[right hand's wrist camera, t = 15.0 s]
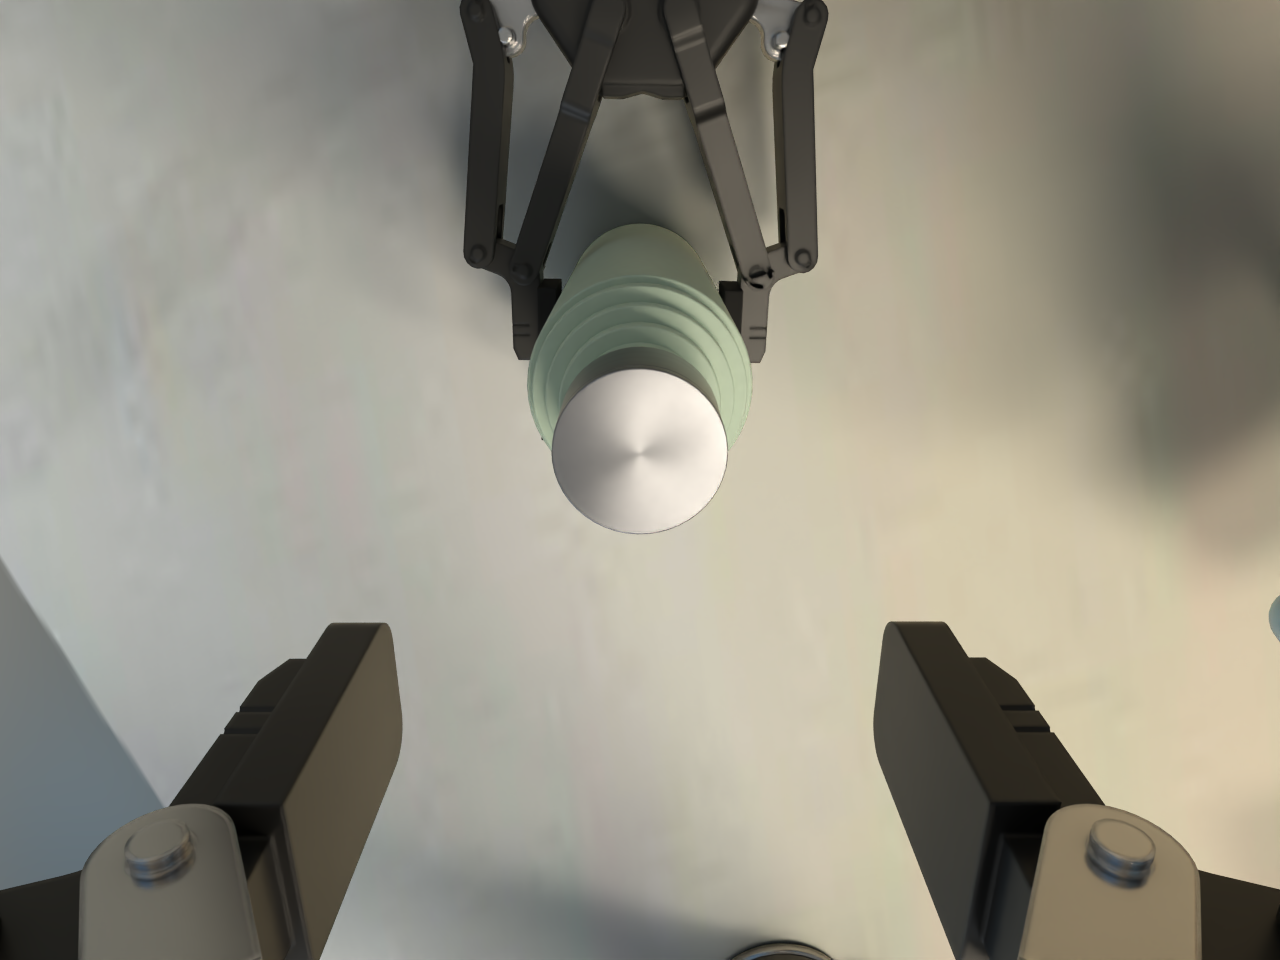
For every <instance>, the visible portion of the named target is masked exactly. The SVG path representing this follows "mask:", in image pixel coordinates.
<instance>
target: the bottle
mask: <svg viewBox="0 0 1280 960" xmlns="http://www.w3.org/2000/svg"><path fill="white" fill-rule="evenodd" d="M628 347H652V348H657V349H661V350H665V351H668V352H670V353H673V354H675V355H677V356H679V357H681V358H683V359H684V360H686V361H687V362H688V363H690V364H691V365H693V366H694V367H695V368H696V369H697V370H698V371H699V372H700V373H701V374H702V376H703V377H704V378H705V379H706V381H707V382H708V384H709V386H710V387H711V389H712V391H713V393H714V396H715V398H716V401H717V404H718V408H719V411H720V414H721V418H722V421H723V425H724V428H725V432H726V436H727V443H728V451H729V449H730V448H731V447H732V446H733V444H734V443H735V441H736V439H737V438H738V436H739V434H740V433H741V430H742V428H743V426H744V423H745V421H746V418H747V415H748V412H749V408H750V403H751V396H752V371H751V363H750V359H749V356H748V352H747V349H746V346H745V344H744V341H743V339H742V336H741V334H740V333H739V331H738V329H737V327H736V325H735V323H734V321H733V320H732V318H731V316H730V314H729V312H728V310H727V308H726V306H725V305H724V303H723V301H722V299H721V297H720V295H719V293H718V291H717V290H716V288H715V286H714V284H713V282H712V280H711V278H710V276H709V275H708V273H707V271H706V269H705V267H704V265H703V263H702V261H701V260H700V258H699V256H698V255H697V253H696V252H695V251H694V249H693V248H692V247H691V246H690V245H689V244H688V243H687V242H686V241H685V240H684V239H683V238H681V237H680V236H679V235H677V234H676V233H674V232H672V231H670V230H668V229H665V228H663V227H660V226H656V225H652V224H629V225H623V226H620V227H617V228H614V229H612V230H610V231H608V232H606V233H604V234H603V235H601V236H600V237H598V238H597V239H596V240H595V241H594V242H593V243H591V245H590V246H589V247H588V248H587V249H586V250H585V252H584V253H583V255H582V256H581V258H580V259H579V261H578V263H577V265H576V267H575V269H574V271H573V272H572V274H571V276H570V278H569V280H568V282H567V284H566V286H565V287H564V289H563V291H562V293H561V295H560V297H559V299H558V300H557V302H556V304H555V306H554V308H553V310H552V312H551V313H550V315H549V317H548V319H547V321H546V323H545V325H544V326H543V328H542V330H541V332H540V334H539V336H538V338H537V340H536V342H535V345H534V348H533V351H532V354H531V357H530V363H529V368H528V380H527V389H528V400H529V404H530V409H531V413H532V416H533V419H534V422H535V424H536V427H537V429H538V431H539V433H540V435H541V437H542V438H543V440H544V441H545V443H546V444H547V446H548V447H549V449H550V450H551V451H552V439H553V434H554V429H555V426H556V423H557V419H558V416H559V413H560V409H561V406H562V403H563V400H564V397H565V394H566V392H567V390H568V388H569V386H570V385H571V383H572V382H573V380H574V379H575V378H576V376H577V375H578V374H579V373H580V372H581V371H582V370H583V369H584V368H585V367H586V366H587V365H588V364H590V363H591V362H592V361H594V360H595V359H597V358H599V357H600V356H602V355H605V354H607V353H609V352H612V351H615V350H618V349H622V348H628Z"/></svg>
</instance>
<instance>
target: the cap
mask: <svg viewBox="0 0 1280 960" xmlns="http://www.w3.org/2000/svg"><path fill="white" fill-rule="evenodd" d="M551 452H552V463H553V468H554V472H555V475H556V478H557V481H558V483H559V485H560V487H561V489H562V491H563V493H564V494H565V496H566V497H567V498H568V500H569V501H570V502H571V503H572V505H573V506H574V507H575V508H576V509H577V510H578V511H579V512H581V513H582V514H583V515H584V516H585V517H587V518H589V519H590V520H592V521H593V522H595V523H597V524H599V525H601V526H603V527H605V528H608V529H611V530H614V531H618V532H623V533H630V534H650V533H657V532H661V531H665V530H669V529H671V528H674V527H676V526H679V525H681V524H683V523H684V522H686V521H688V520H690V519H691V518H692V517H694V516H695V515H697V514H698V513H699V512H700V511H701V510H702V509H703V508H704V507H705V506H706V505H707V504H708V503H709V502H710V500H711V499H712V498H713V497H714V495H715V493H716V492H717V490H718V488H719V486H720V484H721V482H722V480H723V477H724V474H725V470H726V466H727V459H728V443H727V436H726V432H725V428H724V425H723V421H722V418H721V414H720V411H719V408H718V404H717V401H716V398H715V396H714V393H713V391H712V389H711V387H710V386H709V384H708V382H707V381H706V379H705V378H704V377H703V376H702V374H701V373H700V372H699V371H698V370H697V369H696V368H695V367H694V366H693V365H691V364H690V363H688V362H687V361H686V360H684V359H683V358H681V357H679V356H677V355H675V354H673V353H670V352H668V351H665V350H661V349H657V348H652V347H628V348H622V349H618V350H615V351H612V352H609V353H607V354H605V355H602V356H600V357H599V358H597V359H595V360H594V361H592V362H591V363H590V364H588V365H587V366H586V367H585V368H584V369H583V370H582V371H581V372H580V373H579V374H578V375H577V376H576V378H575V379H574V380H573V382H572V383H571V385H570V386H569V388H568V390H567V392H566V394H565V397H564V400H563V403H562V406H561V409H560V413H559V416H558V419H557V423H556V426H555V429H554V434H553V439H552V451H551Z"/></svg>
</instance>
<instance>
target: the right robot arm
mask: <svg viewBox="0 0 1280 960" xmlns="http://www.w3.org/2000/svg"><path fill="white" fill-rule="evenodd" d="M873 728H874V741H875V748H876V753H877V757H878V760H879V763H880V766H881V769H882V771H883V774H884V776H885V779H886V782H887V784H888V787H889V789H890V792H891V794H892V797H893V800H894V802H895V805H896V807H897V810H898V812H899V815H900V818H901V820H902V823H903V825H904V828H905V830H906V833H907V836H908V838H909V841H910V843H911V846H912V848H913V851H914V854H915V856H916V859H917V861H918V864H919V867H920V869H921V872H922V874H923V877H924V879H925V882H926V885H927V887H928V890H929V892H930V895H931V897H932V900H933V903H934V905H935V908H936V910H937V913H938V915H939V918H940V921H941V923H942V926H943V928H944V931H945V933H946V936H947V939H948V941H949V944H950V946H951V949H952V952H953V954H954V957H955V959H956V960H1280V890H1279V889H1275V888H1271V887H1267V886H1262V885H1258V884H1254V883H1250V882H1245V881H1241V880H1237V879H1233V878H1228V877H1224V876H1220V875H1216V874H1211V873H1208V872H1204V871H1200V870H1198V869H1197V867H1196V865H1195V862H1194V861H1193V859H1192V858H1191V856H1190V855H1189V853H1188V852H1187V851H1186V850H1185V849H1184V848H1183V846H1182V845H1181V844H1180V843H1179V842H1178V841H1176V840H1175V839H1174V838H1173V837H1172V836H1171V835H1169V834H1168V833H1167V832H1165V831H1164V830H1163V829H1161V828H1160V827H1158V826H1156V825H1155V824H1153V823H1151V822H1150V821H1148V820H1146V819H1144V818H1141V817H1139V816H1137V815H1135V814H1132V813H1130V812H1127V811H1124V810H1121V809H1117V808H1114V807H1110V806H1105V804H1104V803H1103V801H1102V800H1101V799H1100V797H1099V796H1098V794H1097V793H1096V791H1095V790H1094V789H1093V787H1092V786H1091V784H1090V783H1089V782H1088V780H1087V779H1086V777H1085V776H1084V775H1083V773H1082V772H1081V770H1080V769H1079V767H1078V766H1077V765H1076V763H1075V762H1074V760H1073V759H1072V758H1071V756H1070V755H1069V753H1068V752H1067V750H1066V749H1065V748H1064V746H1063V745H1062V743H1061V742H1060V741H1059V739H1058V738H1057V736H1056V735H1055V733H1054V732H1050V726H1049V725H1048V724H1047V722H1046V721H1045V719H1044V718H1043V716H1042V715H1041V714H1040V712H1039V711H1035V705H1034V704H1033V702H1032V701H1031V699H1030V698H1029V697H1028V695H1027V694H1026V692H1025V691H1024V690H1023V688H1022V687H1021V685H1020V684H1019V682H1018V681H1017V680H1016V679H1015V678H1013V677H1012V676H1011V675H1009V674H1008V673H1006V672H1005V671H1004V670H1002V669H1001V668H1000V667H998V666H997V665H995V664H994V663H993V662H991V661H990V660H988V659H987V658H969V657H968V656H967V654H966V653H965V651H964V650H963V648H962V647H961V645H960V643H959V642H958V640H957V639H956V637H955V636H954V634H953V633H952V631H951V629H950V628H949V626H948V625H947V624H946V623H945V622H889V623H888V624H887V625H886V627H885V630H884V634H883V641H882V650H881V658H880V666H879V675H878V683H877V692H876V700H875V708H874V721H873ZM224 729H225V731H224V734H220V735H219V737H218V738H217V740H216V741H215V742H214V744H213V745H212V747H211V748H210V749H209V751H208V752H207V754H206V755H205V757H204V758H203V759H202V761H201V762H200V764H199V765H198V766H197V768H196V769H195V771H194V772H193V773H192V775H191V776H190V778H189V779H188V780H187V782H186V783H185V785H184V786H183V787H182V789H181V790H180V792H179V793H178V794H177V796H176V797H175V799H174V800H173V801H172V803H171V804H170V806H169V807H166V808H163V809H159V810H156V811H153V812H151V813H148V814H145V815H143V816H141V817H139V818H136V819H134V820H132V821H130V822H129V823H127V824H125V825H124V826H122V827H120V828H119V829H118V830H116V831H115V832H113V833H112V834H111V835H109V836H108V837H107V838H106V839H105V840H104V841H102V842H101V843H100V844H99V845H98V846H97V848H96V849H95V850H94V851H93V852H92V853H91V855H90V856H89V858H88V859H87V861H86V862H85V865H84V867H83V869H82V870H81V871H78V872H74V873H71V874H67V875H63V876H59V877H55V878H51V879H47V880H42V881H38V882H34V883H30V884H26V885H21V886H17V887H13V888H8V889H5V890H0V960H320V957H321V954H322V952H323V949H324V947H325V944H326V942H327V939H328V937H329V934H330V932H331V929H332V927H333V924H334V922H335V919H336V916H337V914H338V911H339V909H340V906H341V904H342V901H343V899H344V896H345V894H346V891H347V889H348V886H349V883H350V881H351V878H352V876H353V873H354V871H355V868H356V866H357V863H358V861H359V858H360V856H361V853H362V850H363V848H364V845H365V843H366V840H367V838H368V835H369V833H370V830H371V828H372V825H373V823H374V820H375V818H376V815H377V812H378V810H379V807H380V805H381V802H382V800H383V797H384V795H385V792H386V790H387V787H388V785H389V782H390V779H391V777H392V774H393V772H394V769H395V767H396V764H397V761H398V758H399V753H400V748H401V741H402V711H401V703H400V695H399V686H398V678H397V670H396V662H395V654H394V645H393V638H392V633H391V630H390V627H389V626H388V624H387V623H331V624H330V625H328V627H327V628H326V629H325V631H324V633H323V634H322V636H321V637H320V639H319V640H318V642H317V643H316V645H315V646H314V648H313V649H312V651H311V653H310V654H309V656H308V657H307V659H289V660H287V661H286V662H284V663H283V664H282V665H280V666H279V667H277V668H276V669H275V670H273V671H272V672H270V673H269V674H268V675H266V676H265V677H263V678H262V679H261V680H259V681H258V682H257V684H256V685H255V686H254V688H253V689H252V691H251V692H250V693H249V695H248V696H247V698H246V699H245V700H244V702H243V703H242V705H241V706H240V711H239V712H236V713H235V714H234V716H233V717H232V719H231V720H230V721H229V723H228V724H227V726H226V727H225V728H224ZM732 960H831V959H830V958H829V957H828V956H826V955H825V954H823V953H821V952H819V951H817V950H815V949H812V948H809V947H806V946H802V945H796V944H784V943H781V944H769V945H763V946H759V947H756V948H753V949H750V950H747V951H745V952H743V953H741V954H739V955H737V956H736V957H734V958H733V959H732Z"/></svg>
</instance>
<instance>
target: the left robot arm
mask: <svg viewBox="0 0 1280 960" xmlns="http://www.w3.org/2000/svg"><path fill="white" fill-rule="evenodd" d="M460 15H461V19H462V23H463V27H464V30H465V34H466V38H467V42H468V45H469V49H470V53H471V57H472V61H473V81H472V99H471V118H470V137H469V156H468V174H467V193H466V212H465V230H464V249H463V252H464V258H465V260H466V262H467V263H468V264H469V265H470V266H472V267H474V268H477V269H479V268H483V269H485V270H488V271H490V272H493V273H496V274H498V275H500V276H502V277H503V278H504V279H506V281H507V282H508V283H509V286H510V288H511V298H512V323H513V348H514V350H515V353H516V355H517V357H518V360H530V357H531V354H532V351H533V348H534V345H535V342H536V340H537V338H538V336H539V334H540V332H541V330H542V328H543V326H544V325H545V323H546V321H547V319H548V317H549V315H550V313H551V312H552V310H553V308H554V306H555V304H556V302H557V300H558V299H559V297H560V295H561V293H562V281H561V279H544V276H543V270H544V268H545V263H546V260H547V257H548V254H549V252H550V249H551V246H552V243H553V240H554V237H555V234H556V231H557V228H558V225H559V222H560V219H561V216H562V213H563V210H564V207H565V204H566V201H567V198H568V195H569V192H570V189H571V186H572V184H573V181H574V178H575V175H576V172H577V169H578V166H579V163H580V160H581V157H582V154H583V151H584V148H585V145H586V142H587V139H588V136H589V133H590V130H591V127H592V125H593V122H594V120H595V117H596V115H597V112H598V109H599V106H600V103H601V100H602V97H604V99H625V98H629V97H632V96H636V95H639V94H646V95H650V96H653V97H656V98H659V99H662V100H682V99H684V102H685V105H686V108H687V112H688V115H689V118H690V121H691V123H692V126H693V129H694V132H695V135H696V138H697V141H698V145H699V148H700V151H701V154H702V158H703V161H704V164H705V168H706V171H707V174H708V177H709V181H710V184H711V187H712V190H713V194H714V197H715V200H716V203H717V207H718V210H719V213H720V216H721V220H722V223H723V226H724V229H725V233H726V236H727V239H728V242H729V246H730V249H731V252H732V255H733V259H734V262H735V265H736V268H737V271H738V275H737V281H719V295H720V297H721V299H722V301H723V303H724V305H725V306H726V308H727V310H728V312H729V314H730V316H731V318H732V320H733V321H734V323H735V325H736V327H737V329H738V331H739V333H740V334H741V336H742V339H743V341H744V344H745V346H746V349H747V352H748V356H749V359H750V363H760V362H761V359H762V357H763V355H764V353H765V349H766V334H767V319H768V304H769V294H770V290H771V288H772V287H773V285H774V284H775V283H776V282H777V281H778V280H780V279H782V278H785V277H788V276H791V275H794V274H797V273H805V272H809V271H810V270H811V269H813V268H814V267H815V265H816V263H817V259H818V239H817V199H816V160H815V120H814V81H813V68H814V65H815V61H816V58H817V55H818V51H819V48H820V45H821V41H822V38H823V34H824V31H825V28H826V24H827V21H828V10H827V6H826V5H825V3H824V2H823V1H822V0H804V1H803V2H798V1H794V0H462V1H461V4H460ZM537 19H540V20H541V21H542V23H543V24H544V26H545V27H546V29H547V30H548V32H549V33H550V35H551V36H552V38H553V39H554V41H555V42H556V44H557V46H558V47H559V49H560V50H561V52H562V53H563V55H564V56H565V58H566V59H567V61H568V62H569V64H570V65H571V67H572V69H571V72H570V76H569V79H568V82H567V85H566V88H565V91H564V94H563V97H562V101H561V105H560V110H559V114H558V117H557V120H556V123H555V126H554V129H553V132H552V135H551V138H550V142H549V145H548V148H547V151H546V154H545V157H544V160H543V163H542V166H541V169H540V172H539V176H538V179H537V182H536V185H535V188H534V191H533V194H532V197H531V200H530V203H529V206H528V210H527V213H526V216H525V219H524V222H523V225H522V228H521V231H520V234H519V237H518V240H517V243H516V244H514V243H511V242H509V241H506V240H503V230H504V216H505V201H506V187H507V172H508V158H509V144H510V129H511V115H512V100H513V82H514V73H513V62H512V58H514V57H517V56H519V55H520V54H521V53H522V52H523V51H524V49H525V47H526V33H527V29H528V27H529V26H530V24H531V23H532V22H533V21H535V20H537ZM748 22H750V23H752V24H754V25H755V26H756V27H757V28H758V30H759V32H760V35H761V50H762V53H763V55H764V56H765V57H766V58H767V59H768V60H770V61H773V62H775V64H774V71H773V87H772V92H773V116H774V141H775V165H776V189H777V213H778V237H779V243H778V244H775V245H772V246H769V247H765V244H764V240H763V237H762V233H761V230H760V226H759V223H758V220H757V216H756V213H755V209H754V206H753V203H752V199H751V196H750V192H749V189H748V185H747V182H746V179H745V175H744V172H743V168H742V165H741V162H740V158H739V155H738V151H737V148H736V145H735V141H734V138H733V134H732V131H731V127H730V124H729V121H728V117H727V113H726V107H725V103H724V99H723V95H722V92H721V88H720V85H719V82H718V78H717V75H716V71H715V69H716V67H717V66H718V65H719V63H720V62H721V60H722V59H723V57H724V56H725V55H726V53H727V52H728V50H729V49H730V47H731V46H732V45H733V43H734V42H735V40H736V39H737V38H738V36H739V35H740V33H741V32H742V30H743V29H744V28H745V26H746V25H747V23H748ZM542 440H543V438H542ZM1269 623H1270V627H1271V629H1272V631H1273V633H1274V635H1275V636H1276V637H1277V639H1278V640H1279V641H1280V596H1278V597H1277V598H1276V600H1275V601H1274V602H1273V603H1272V605H1271V608H1270V611H1269Z"/></svg>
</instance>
